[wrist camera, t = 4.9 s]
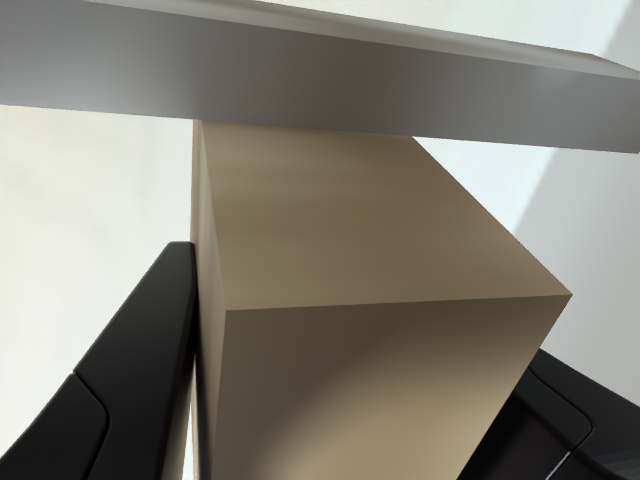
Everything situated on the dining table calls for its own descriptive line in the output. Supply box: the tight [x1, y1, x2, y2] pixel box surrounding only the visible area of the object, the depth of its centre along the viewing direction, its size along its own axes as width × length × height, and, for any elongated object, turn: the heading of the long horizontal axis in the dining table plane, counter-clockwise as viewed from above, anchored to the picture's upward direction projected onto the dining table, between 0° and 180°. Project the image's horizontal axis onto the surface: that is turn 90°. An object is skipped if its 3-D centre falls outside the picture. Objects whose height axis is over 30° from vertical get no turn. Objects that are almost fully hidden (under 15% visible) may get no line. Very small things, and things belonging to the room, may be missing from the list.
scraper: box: [0, 0, 640, 480], centre depth 7 cm, size 12×7×6 cm, turn 79°
